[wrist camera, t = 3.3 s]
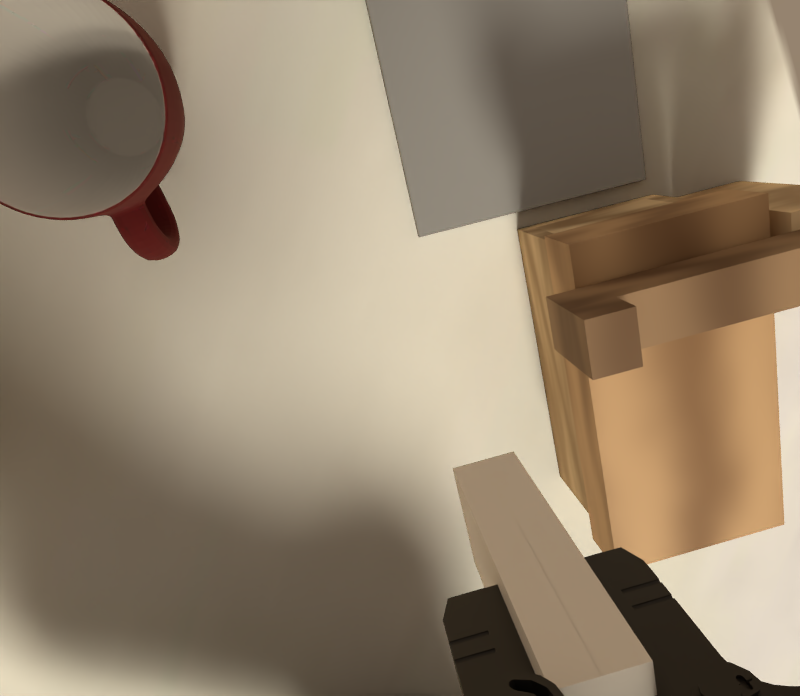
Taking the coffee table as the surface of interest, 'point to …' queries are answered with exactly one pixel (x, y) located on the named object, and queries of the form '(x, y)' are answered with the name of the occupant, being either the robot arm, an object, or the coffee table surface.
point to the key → (673, 303)
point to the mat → (507, 103)
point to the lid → (676, 393)
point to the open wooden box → (786, 214)
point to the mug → (88, 119)
